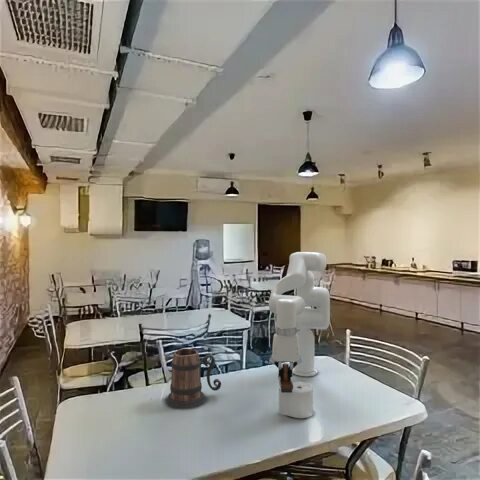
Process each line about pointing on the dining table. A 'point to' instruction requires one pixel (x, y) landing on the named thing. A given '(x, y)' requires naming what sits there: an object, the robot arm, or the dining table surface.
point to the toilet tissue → (297, 401)
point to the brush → (285, 380)
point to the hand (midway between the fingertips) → (285, 378)
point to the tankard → (188, 379)
